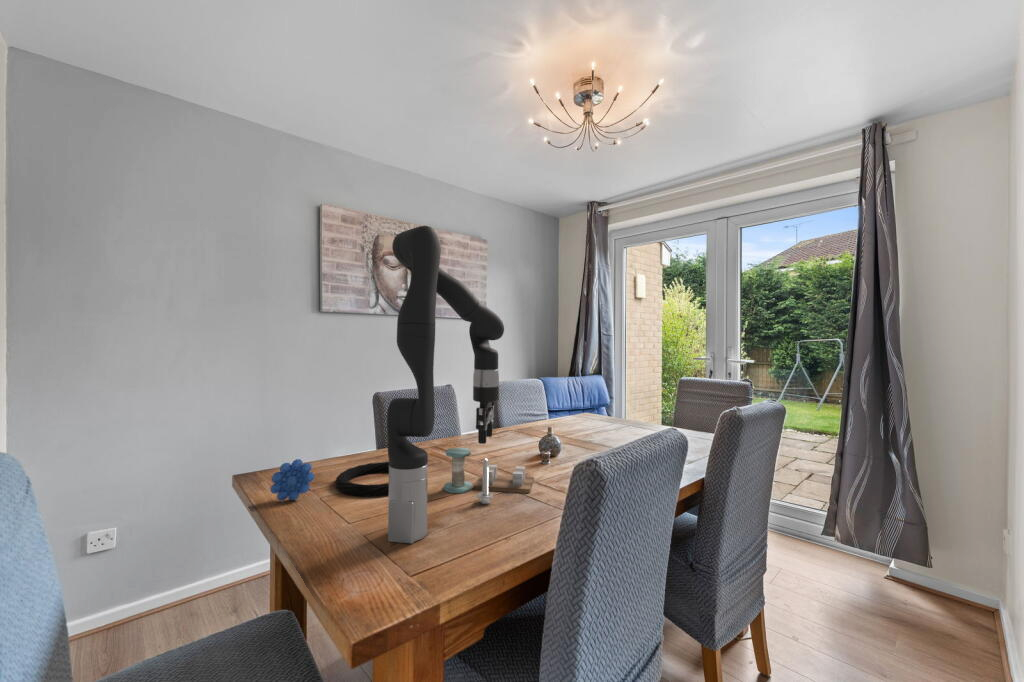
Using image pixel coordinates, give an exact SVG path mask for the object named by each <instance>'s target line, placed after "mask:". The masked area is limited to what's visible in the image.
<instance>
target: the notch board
mask: <svg viewBox="0 0 1024 682" xmlns="http://www.w3.org/2000/svg"><path fill="white" fill-rule="evenodd" d="M534 482H535V477H533V476H526V466H520V465H519V466H517V465H516V466H515V469H514V470H513V472H512V475H500V474H498V464H488V492H490V491H492V492H507V493H522V494H523V493H524V494H530V493H531V491H532V488H533V484H534ZM482 483H483V473H481V475H480V476H479V477H478V478H477V480H476V482H475V483H474V484H473V485H472V490H475V491H476V490H478V491H483V490H482V489H483V488H482V487H483V486H482V485H483V484H482Z"/></svg>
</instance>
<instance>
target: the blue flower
mask: <svg viewBox="0 0 1024 682" xmlns="http://www.w3.org/2000/svg"><path fill="white" fill-rule="evenodd" d="M312 467H313V466H312V464H311V463H310V462H305V463H303V461H302V459H301V458H297V459H295V460H293V461H292V462H291V463H290V462H284V463H282V464H281V465H280V467H279V471H276V472H274V473H273V474H272V476H271V482H273V484H272V485H271V487H270V492H271V494H274V495H275V494H276V495H277V496H276V499H277V500H278V501H284V500H286V499H287V498H288V499H289V500H290V501H296V500H297V499H298V498H299V497H300V494H306V493H307V492H309V490H310V486H311V485H310V483H312V482H313V481H314V479H315V473H314V472H311V470H312Z"/></svg>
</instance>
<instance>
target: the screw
mask: <svg viewBox="0 0 1024 682" xmlns="http://www.w3.org/2000/svg"><path fill="white" fill-rule="evenodd" d="M488 462H489V460H488V458H486V457H485V458H483V463H482V464H483V465H482V474H483V483H482V484H483V485H482V486H483V487H482V488H483V489H482V490H481V491H480V492H479V493H477V494H476V498H477V499H480V504H483V505H487V504H488V505H489V504H490V503H491V499H493V498H494V494H493V492H490V491H489V490H488V465H489V463H488Z"/></svg>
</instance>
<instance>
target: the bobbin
mask: <svg viewBox="0 0 1024 682" xmlns="http://www.w3.org/2000/svg"><path fill="white" fill-rule="evenodd" d="M471 455H472V450H471V449H470V448H468V447H452V448H448V449H446V450H445V456H446V457H450V458H451V459H452V460H451V481H448V482H446V483H444V485H443V490H444V492H447V493H449V494H466V493H469V492H470V491H472V490H473V483H472V482H470V481H466V480H465V478H466V477H465V469H466V464H465V463H466V462H465V461H466V459H465V458H466V457H470V456H471Z"/></svg>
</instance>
